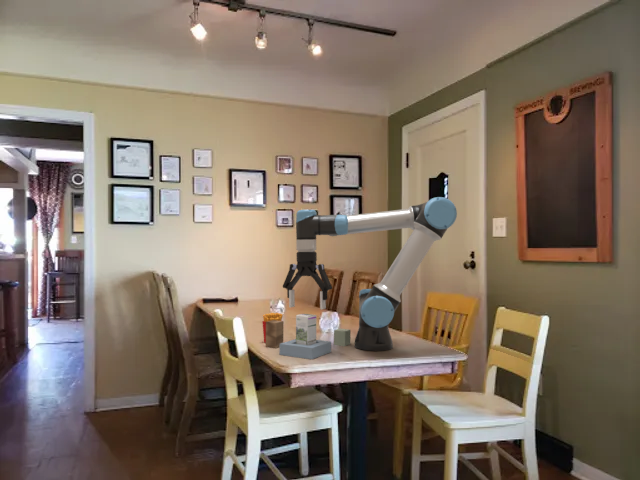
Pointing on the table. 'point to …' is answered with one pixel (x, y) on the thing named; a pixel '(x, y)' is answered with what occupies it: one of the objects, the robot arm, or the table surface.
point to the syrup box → (306, 329)
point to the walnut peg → (274, 333)
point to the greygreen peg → (342, 337)
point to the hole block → (305, 349)
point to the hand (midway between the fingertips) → (307, 308)
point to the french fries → (269, 318)
